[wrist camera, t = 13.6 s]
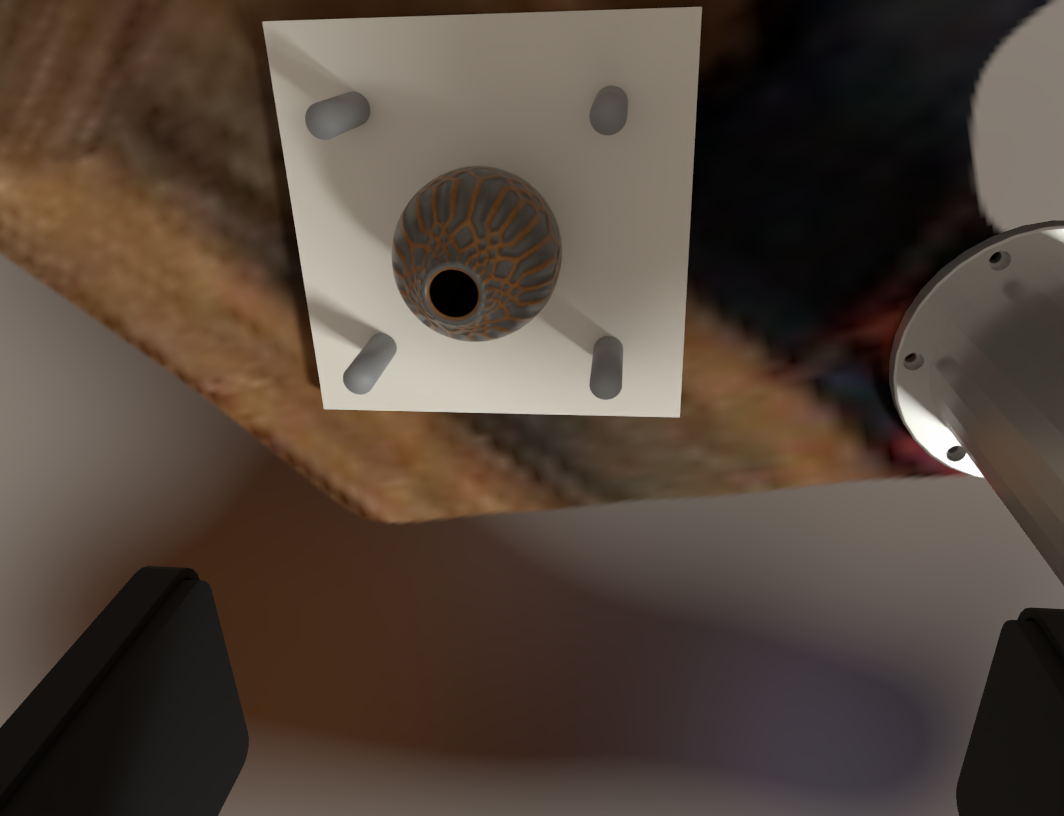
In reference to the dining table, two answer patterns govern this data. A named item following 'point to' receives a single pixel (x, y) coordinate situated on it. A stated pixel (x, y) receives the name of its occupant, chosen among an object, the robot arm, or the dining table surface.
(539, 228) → the vase
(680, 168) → the stand
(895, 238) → the dining table surface
